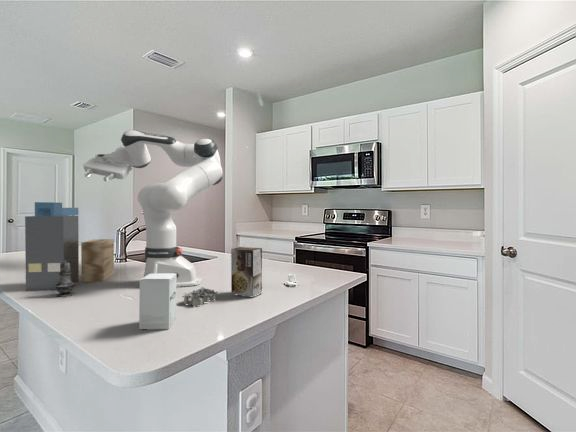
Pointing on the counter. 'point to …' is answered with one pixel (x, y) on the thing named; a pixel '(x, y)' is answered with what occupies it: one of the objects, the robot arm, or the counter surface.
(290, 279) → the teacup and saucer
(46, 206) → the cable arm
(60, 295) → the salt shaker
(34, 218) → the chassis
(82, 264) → the wooden log section
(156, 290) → the supplement box
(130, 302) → the counter surface
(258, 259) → the coffee box
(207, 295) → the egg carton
